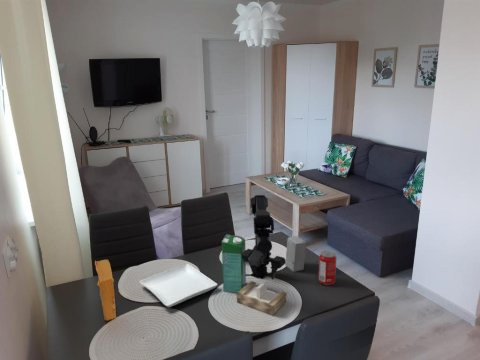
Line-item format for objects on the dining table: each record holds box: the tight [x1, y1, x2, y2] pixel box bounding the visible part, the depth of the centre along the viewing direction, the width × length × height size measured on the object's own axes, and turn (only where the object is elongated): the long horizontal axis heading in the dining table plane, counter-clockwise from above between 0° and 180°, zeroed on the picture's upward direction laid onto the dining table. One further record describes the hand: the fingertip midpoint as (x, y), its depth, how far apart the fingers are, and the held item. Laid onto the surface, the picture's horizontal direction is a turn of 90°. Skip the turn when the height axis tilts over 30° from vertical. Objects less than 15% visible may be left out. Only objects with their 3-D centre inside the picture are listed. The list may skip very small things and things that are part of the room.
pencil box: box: [236, 280, 287, 317], centre depth 165 cm, size 18×12×5 cm, turn 56°
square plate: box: [139, 263, 218, 308], centre depth 178 cm, size 27×27×4 cm
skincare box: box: [284, 235, 307, 273], centre depth 193 cm, size 8×7×16 cm
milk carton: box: [221, 233, 247, 293], centre depth 175 cm, size 9×9×25 cm
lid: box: [244, 281, 279, 303], centre depth 165 cm, size 15×10×6 cm, turn 56°
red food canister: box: [318, 250, 337, 286], centre depth 179 cm, size 8×8×15 cm
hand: (263, 276), depth 163 cm, fingers open, 9 cm apart
